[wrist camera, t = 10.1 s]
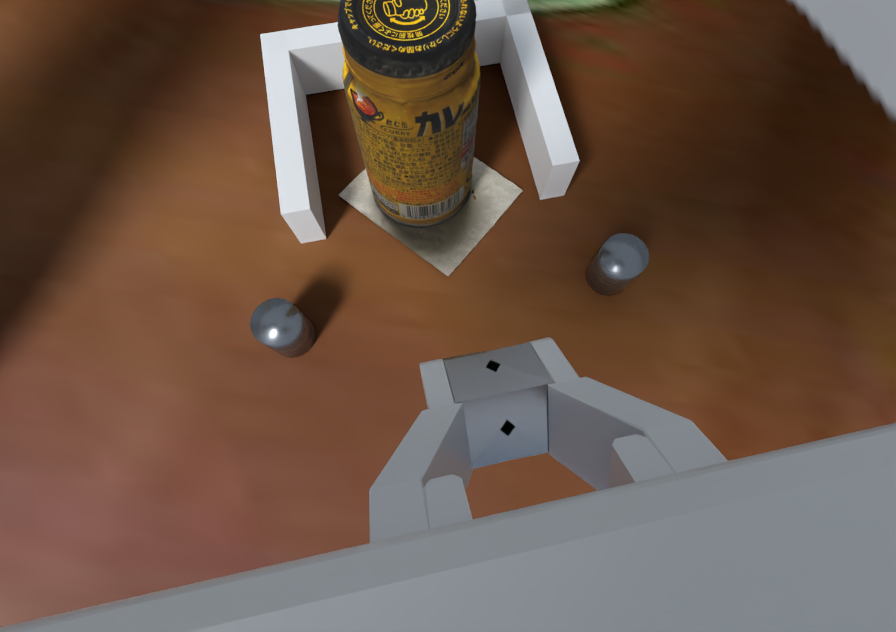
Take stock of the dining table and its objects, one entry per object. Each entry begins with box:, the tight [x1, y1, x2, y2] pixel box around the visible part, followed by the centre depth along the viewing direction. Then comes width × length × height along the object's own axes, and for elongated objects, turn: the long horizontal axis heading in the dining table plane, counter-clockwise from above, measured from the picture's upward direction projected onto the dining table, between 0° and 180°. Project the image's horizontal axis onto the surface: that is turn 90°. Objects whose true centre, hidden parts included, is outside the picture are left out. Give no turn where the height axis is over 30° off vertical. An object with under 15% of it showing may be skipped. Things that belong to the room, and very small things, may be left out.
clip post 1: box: [250, 298, 316, 357], centre depth 25 cm, size 2×2×3 cm
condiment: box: [337, 0, 523, 276], centre depth 23 cm, size 7×8×12 cm
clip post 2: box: [586, 233, 649, 295], centre depth 26 cm, size 2×2×3 cm
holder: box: [260, 0, 580, 243], centre depth 28 cm, size 12×16×4 cm
